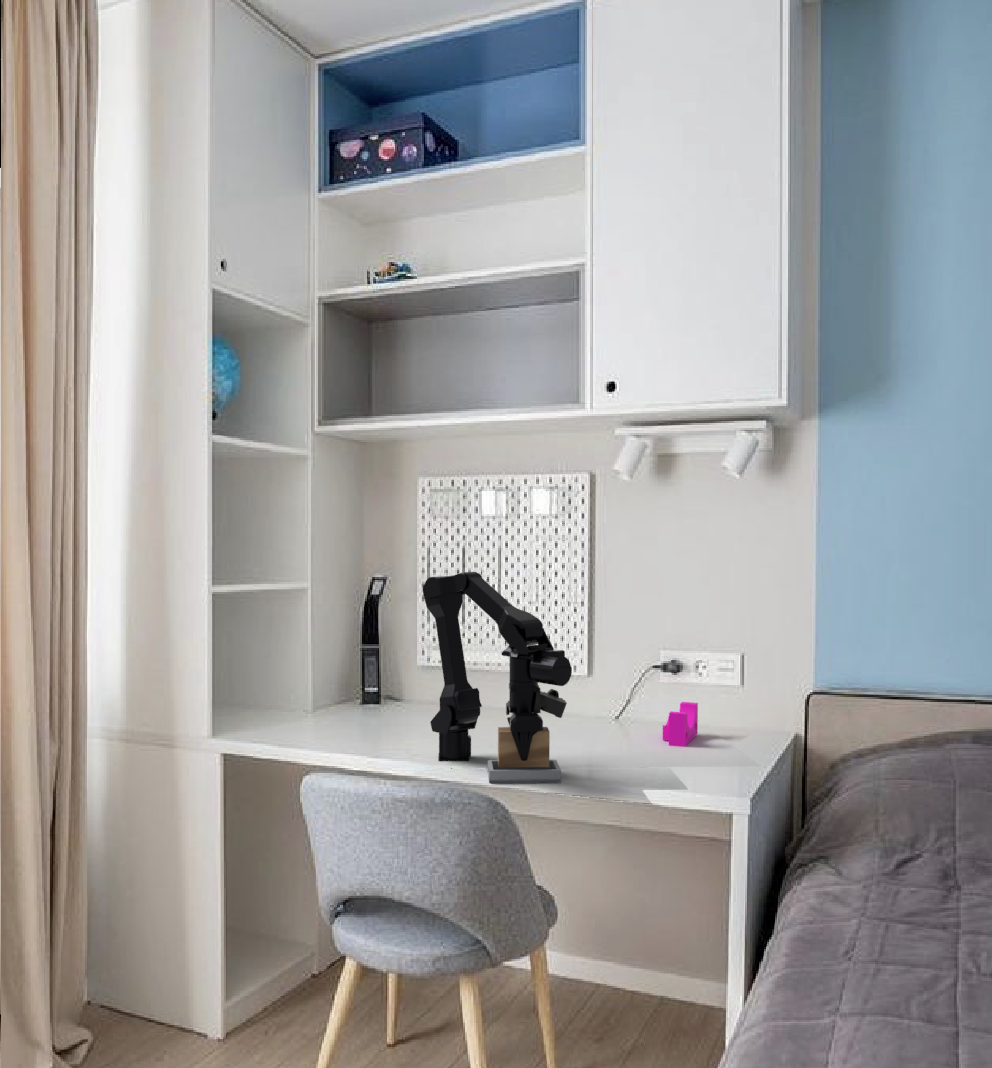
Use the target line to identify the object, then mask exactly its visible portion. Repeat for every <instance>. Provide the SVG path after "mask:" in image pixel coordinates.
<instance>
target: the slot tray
mask: <svg viewBox="0 0 992 1068" xmlns="http://www.w3.org/2000/svg"><path fill="white" fill-rule="evenodd" d="M487 775H488V783H489V784H525V783H526V784H534V783H536V784H537V783H538V784H539V783H540V784H541V783H543V784H545V783H562V769H561V768H560V765H559V762H558V761H557V759H549V767H499V764H498V759H488V760H487Z"/></svg>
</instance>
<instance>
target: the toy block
mask: <svg viewBox="0 0 992 1068" xmlns="http://www.w3.org/2000/svg"><path fill="white" fill-rule="evenodd" d="M698 706H699V703H698V702H689V701H682V702H680V703H679V711H670V712H668V717H667V721H666V724H664V725H662V741H667V742H668V746H672V747H681V748H682V747H684V748H685V747H687V746H688V744H690V742H691V741H692V740H693V739H694V738H695V737H696V736H697V735H698V731H699V730H698V729H699V728H698V726H699V725H698V723H699V720H698V717H699V716H698V713H699V712H698V711H699V709H698V708H699V707H698Z"/></svg>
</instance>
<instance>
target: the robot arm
mask: <svg viewBox="0 0 992 1068" xmlns="http://www.w3.org/2000/svg"><path fill="white" fill-rule="evenodd" d="M422 595H423V598H424V602H425V606H426V609H428V611H429V612H430V614H431V615H432V617H433V618H434V620H435V625H436V626H435V627H436V632H437V641H438V646H439V648H438V649H439V654H440V661H441V669H442V674H443V675H442V676H443V681H444V686H443V688H442V691H441V693H440V696H439V710H438V711H437V713H436V714H435V716H433V718H432V719H431V721H430V726H431V731H432V732H433V733H438V759H437V760H438V762H469V761H470V758H471V757H472V736H471V735H470V734H469V730H474V729H476V726H477V722H478V718H479V716H480V715H481V708H482V707H483V706H482V703H481V699H480V698H481V697H480V690H479V688H478V687H474V688H473V686H472V685H471V684H470V682H469V681H468V676H467V669H466V663H465V656H464V649H463V642H462V634H461V627H460V623H459V622H460V621H459V613H460V611H461V608H462V606H463V601H464V600H463V599H464V597H463V595H466V596H467V597H468V598H469V599H470V600H472V601H473V603H474V604H476V605H477V607H479V608H480V609H481V610H483V612H485V613H486V615H487V616H489V617H490V618H491V620H493V621H494V622H495V623H496V625H497V628H498V631H499V634H500V636H501V637H502V638H503V639H504V641H505V642H506V643H507V644H508V646H507V647H506V648H505V649H504V650H503V651H501V656H503V657H509V682H508V689H509V694H508V696H509V700H508V701H507V702H506V703H505V714H506V716H509V715H510V714H511V716H509V717H506V719H507V722H508V725H509V726H508V727H510V731H511V733H512V736H513V739H514V741H515V744H516V747H517V749H518V752H519V755H520V758H521V760H522V761H526V760H527V758H528V754H529V749H530V745H531V741H532V737H533V735H534V734H536V733H537V732H538V731H543V727H544V720H543V718H542V716H541V715H539V714H541V712H542V711H543V712H544V713H545V712H546V713H547V714H550V715H551V714H552V715H553V716H554V717H556V718H560V719H562V717H563V715H564V713H565V709H566V707H567V701H566V700H565V699H563V698H562V697H560V695H559V694H560V693H559V691H558V690H556V689H553V688H551V689H549V690H548V691H547V692H546V691H542V690H541V687H540V685H539V684H545V685H553V686H556V687H557V686H558V687H564V686H565V685H567V684H568V682H569V681H570V679H571V677H572V674H573V673H572V671H573V667H572V665H571V662H570V660H569V659H568V658H567V657H566V656H565V655H566V652H565V650H563V649H561V650H560V649H558V650H557V649H556V650H555V649H554V646H553V645H552V642H551V640H550V639H549V636H548V635H547V633H546V631H545V629H544V627H543V626H544V624H543V622H542V621H541V620H540V619H539V618H538V617H537V616H535V615H533V614H532V613H530V612H529V611H525V610H523V609H521V608H517V607H515V606H514V605H513V604H511V603H510V601H509V600H507V599H506V598H505V597H504V596H503V595H502V594H500V592H498V591H497V590H496V589H495V588H494V587H493V586H491V585H490V583H488V582H487V581H486V580H485V579H484V578H483V576H482V574H480V573H479V572H477V571H463V572H460V573H457V574H455V575H454V574H453V575H446V576H445V575H443V576H430V577H428V578H427V579H426V580H425V582H424V584H423V585H422Z"/></svg>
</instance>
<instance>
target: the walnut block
mask: <svg viewBox="0 0 992 1068" xmlns="http://www.w3.org/2000/svg"><path fill="white" fill-rule="evenodd" d="M497 732H498V733H497V760H498V764H499V767H549V760H550V740H551V739H550V737H551V736H550V729H549V727H548V726H543V731H538V732H537V733H536V734H534V735H533V737H532V741H531V745H530V749H529V754H528V758H527V760H526V761H522V760H521V758H520V755H519V752H518V749H517V747H516V744H515V741H514V739H513V736H512V733H511V731H510V727H509V726H498V727H497Z"/></svg>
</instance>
